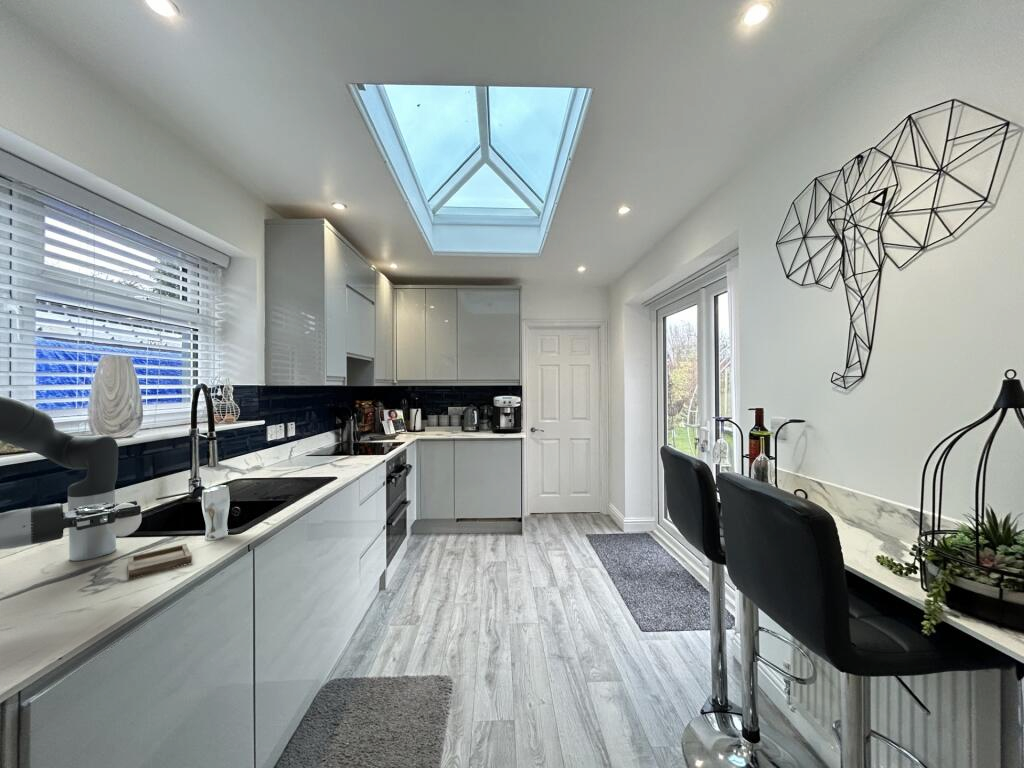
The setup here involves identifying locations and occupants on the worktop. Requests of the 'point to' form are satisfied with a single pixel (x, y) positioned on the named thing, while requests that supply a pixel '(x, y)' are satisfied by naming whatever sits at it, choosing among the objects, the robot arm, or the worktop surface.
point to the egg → (124, 523)
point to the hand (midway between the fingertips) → (138, 507)
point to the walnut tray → (158, 560)
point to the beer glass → (215, 511)
